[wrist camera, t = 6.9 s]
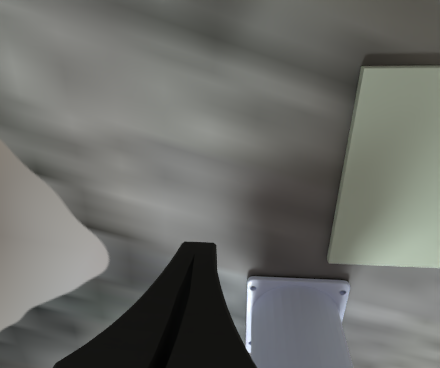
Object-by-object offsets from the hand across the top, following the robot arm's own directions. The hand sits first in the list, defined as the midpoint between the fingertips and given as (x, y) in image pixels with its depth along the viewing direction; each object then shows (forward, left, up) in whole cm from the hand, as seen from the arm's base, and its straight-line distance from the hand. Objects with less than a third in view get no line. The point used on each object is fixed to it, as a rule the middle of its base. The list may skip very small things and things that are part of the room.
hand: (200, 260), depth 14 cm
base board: (-1, -15, -9) cm, 17 cm away
